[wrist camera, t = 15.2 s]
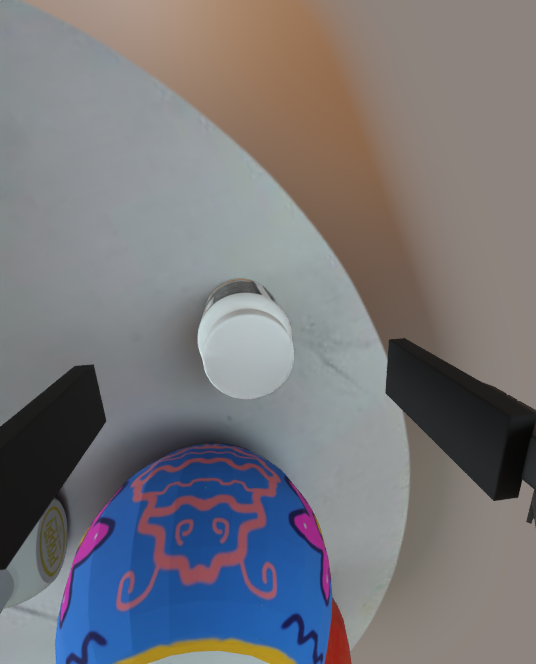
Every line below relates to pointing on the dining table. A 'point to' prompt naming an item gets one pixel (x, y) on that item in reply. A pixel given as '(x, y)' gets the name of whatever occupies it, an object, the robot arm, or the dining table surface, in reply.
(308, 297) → the dining table surface
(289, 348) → the pill bottle
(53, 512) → the air freshener
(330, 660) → the apple
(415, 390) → the robot arm
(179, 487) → the ceramic pot
